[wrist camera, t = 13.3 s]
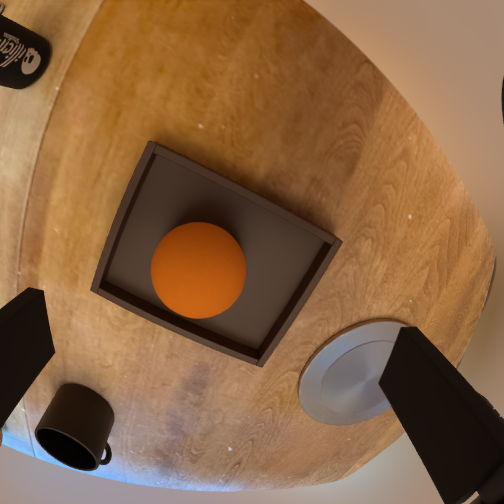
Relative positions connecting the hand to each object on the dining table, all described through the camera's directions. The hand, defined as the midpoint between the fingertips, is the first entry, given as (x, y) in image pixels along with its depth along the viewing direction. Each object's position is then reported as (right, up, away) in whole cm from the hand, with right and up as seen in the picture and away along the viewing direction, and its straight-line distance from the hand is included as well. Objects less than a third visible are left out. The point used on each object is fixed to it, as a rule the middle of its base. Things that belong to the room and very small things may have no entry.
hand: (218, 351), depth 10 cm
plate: (+16, -13, +26) cm, 33 cm away
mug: (-22, -20, +26) cm, 40 cm away
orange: (-3, +2, +15) cm, 16 cm away
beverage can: (-24, +24, +12) cm, 36 cm away
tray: (-3, +3, +20) cm, 20 cm away
